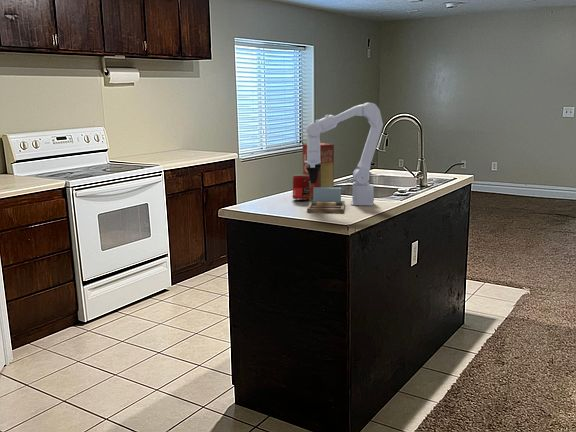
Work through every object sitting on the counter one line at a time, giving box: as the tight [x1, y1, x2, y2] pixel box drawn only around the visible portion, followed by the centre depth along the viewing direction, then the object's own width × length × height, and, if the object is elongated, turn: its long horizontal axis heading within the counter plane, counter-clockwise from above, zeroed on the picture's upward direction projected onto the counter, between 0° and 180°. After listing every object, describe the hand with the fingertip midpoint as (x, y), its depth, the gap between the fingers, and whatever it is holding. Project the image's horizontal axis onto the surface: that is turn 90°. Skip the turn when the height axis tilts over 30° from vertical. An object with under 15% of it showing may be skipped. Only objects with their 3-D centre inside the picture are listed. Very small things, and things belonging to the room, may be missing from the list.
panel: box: [312, 187, 342, 203], centre depth 249 cm, size 12×2×8 cm, turn 83°
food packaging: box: [302, 142, 335, 198], centre depth 270 cm, size 13×9×25 cm
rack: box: [306, 200, 345, 214], centre depth 244 cm, size 15×18×2 cm
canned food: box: [292, 174, 311, 200], centre depth 262 cm, size 8×8×11 cm
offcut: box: [317, 202, 336, 206], centre depth 243 cm, size 8×3×3 cm, turn 81°
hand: (314, 181), depth 251 cm, fingers open, 7 cm apart
